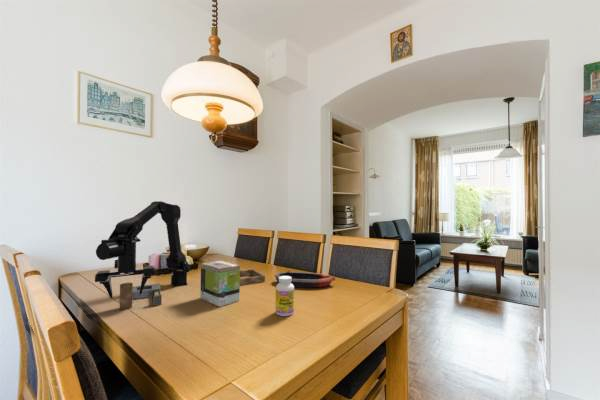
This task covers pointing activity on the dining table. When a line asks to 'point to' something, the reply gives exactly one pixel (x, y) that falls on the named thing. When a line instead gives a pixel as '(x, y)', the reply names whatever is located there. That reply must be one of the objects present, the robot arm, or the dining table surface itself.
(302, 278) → the dish
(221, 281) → the tea box
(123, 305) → the peg
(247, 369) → the dining table surface
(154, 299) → the lock pin
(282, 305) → the supplement bottle
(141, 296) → the mount
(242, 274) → the trivet
